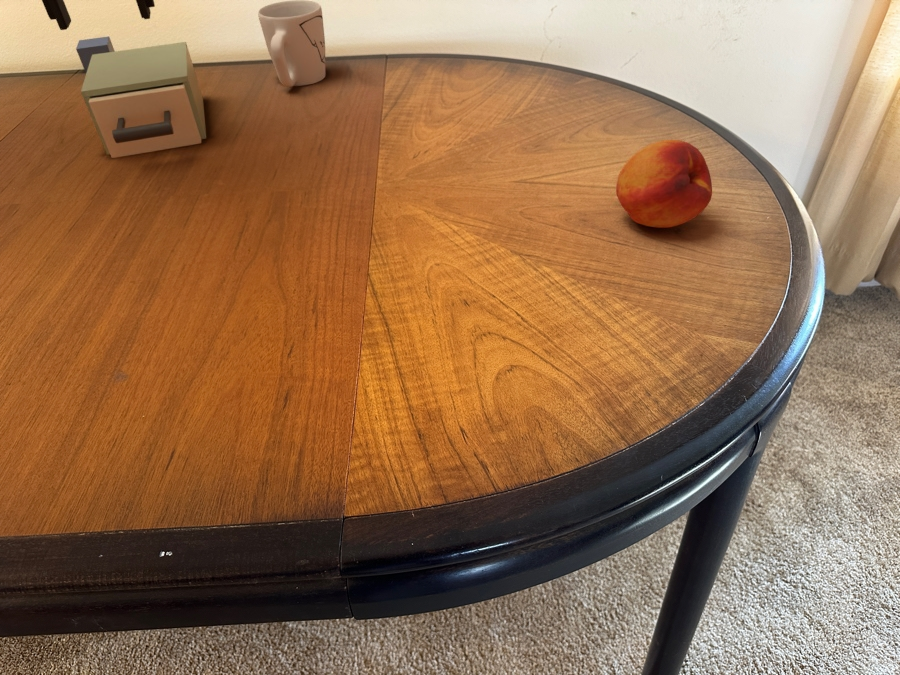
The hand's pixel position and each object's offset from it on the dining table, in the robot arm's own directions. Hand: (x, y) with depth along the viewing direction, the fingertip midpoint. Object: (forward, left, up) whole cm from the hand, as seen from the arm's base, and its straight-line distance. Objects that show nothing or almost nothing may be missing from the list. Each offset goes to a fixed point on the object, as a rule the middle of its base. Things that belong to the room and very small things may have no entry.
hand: (106, 19), depth 66 cm
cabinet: (0, +10, -16) cm, 19 cm away
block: (-9, +38, -16) cm, 42 cm away
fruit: (+46, -32, -16) cm, 58 cm away
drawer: (0, +5, -15) cm, 16 cm away
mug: (+19, +18, -16) cm, 30 cm away
